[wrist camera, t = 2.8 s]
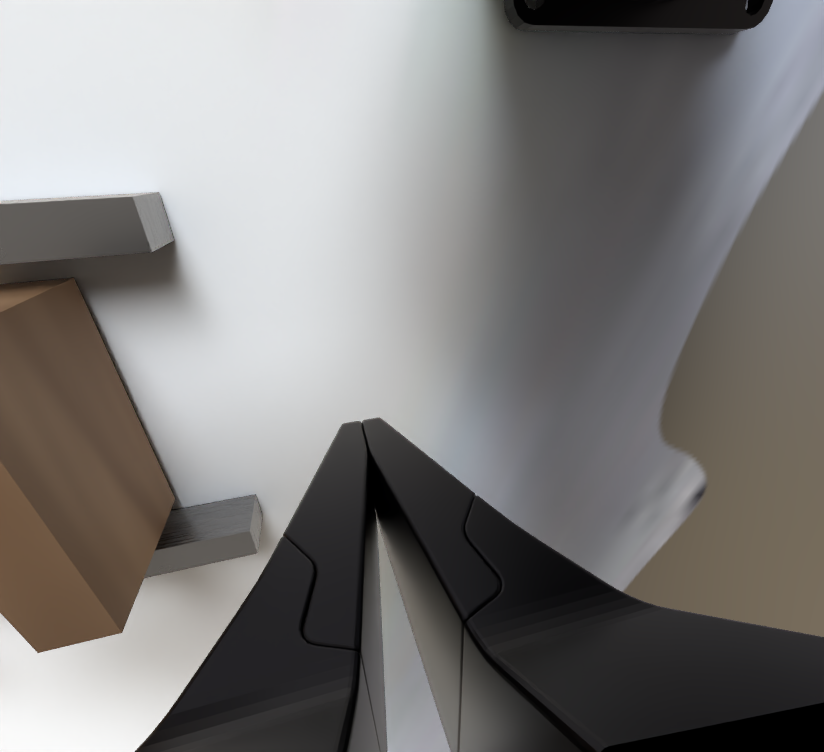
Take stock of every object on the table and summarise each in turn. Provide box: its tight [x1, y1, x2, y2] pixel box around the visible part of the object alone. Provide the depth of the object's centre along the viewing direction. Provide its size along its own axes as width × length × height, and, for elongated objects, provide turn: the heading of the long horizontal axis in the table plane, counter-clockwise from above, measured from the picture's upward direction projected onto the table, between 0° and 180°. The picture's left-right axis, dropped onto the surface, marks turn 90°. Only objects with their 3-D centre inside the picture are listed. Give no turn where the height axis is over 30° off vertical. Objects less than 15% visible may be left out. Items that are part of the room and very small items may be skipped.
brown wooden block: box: [0, 278, 175, 653], centre depth 8 cm, size 2×7×4 cm, turn 2°
